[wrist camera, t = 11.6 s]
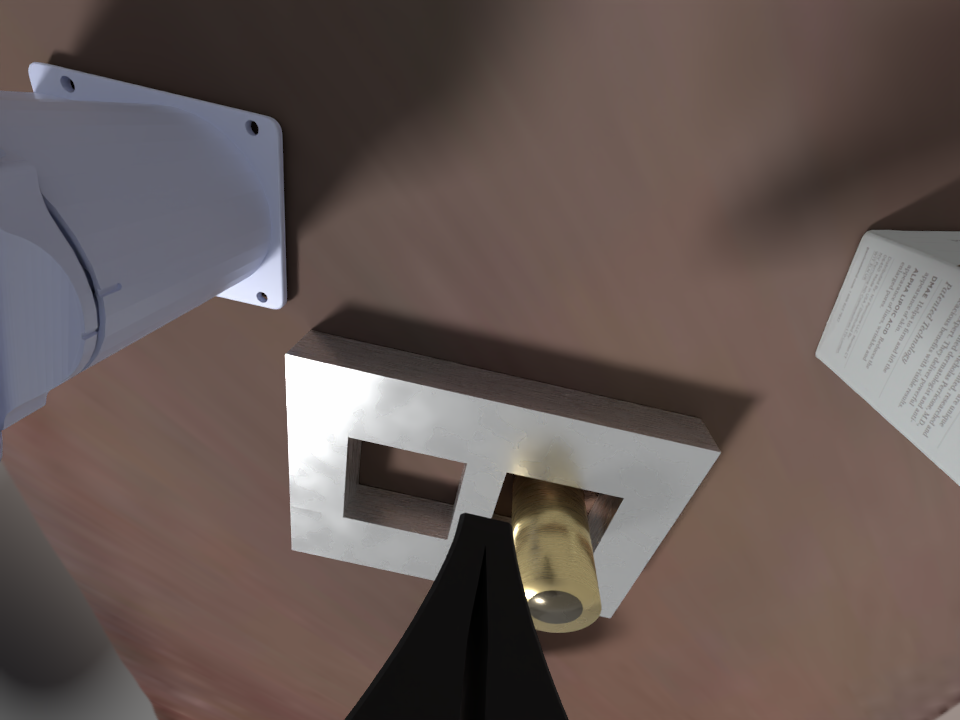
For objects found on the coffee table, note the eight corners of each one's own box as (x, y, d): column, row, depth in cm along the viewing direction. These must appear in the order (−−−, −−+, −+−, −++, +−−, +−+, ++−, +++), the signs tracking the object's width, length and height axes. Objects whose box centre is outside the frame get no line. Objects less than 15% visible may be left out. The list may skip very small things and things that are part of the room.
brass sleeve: (505, 502, 25) (499, 622, 19) (523, 454, 23) (522, 571, 17) (569, 517, 26) (583, 641, 19) (592, 470, 24) (616, 592, 17)
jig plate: (310, 516, 28) (291, 549, 26) (310, 329, 21) (285, 354, 19) (603, 580, 28) (610, 618, 26) (701, 418, 21) (721, 452, 19)
